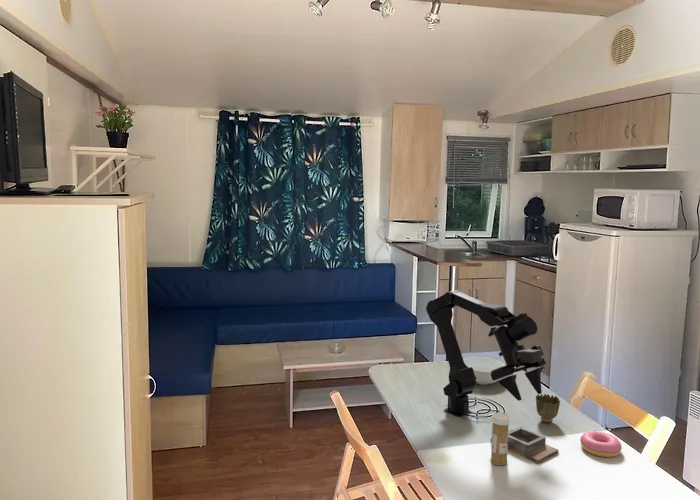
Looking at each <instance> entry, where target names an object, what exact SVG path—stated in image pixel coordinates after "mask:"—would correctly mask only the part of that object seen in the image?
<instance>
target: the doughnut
mask: <svg viewBox="0 0 700 500" xmlns="http://www.w3.org/2000/svg"><path fill="white" fill-rule="evenodd" d="M579 441H580V445H581V447H582V449H584V450H585V451H586V452H588V453H589V454H592V455H594V456H598V457H601V458H613V457H617V456H618V455H619V454H620V453H621V451H622V449H623V447H622V443H621V441H620V440H619V438H617V437H616V436H614V435H612V434H611V433H606V432H605V431H599V430H598V431H596V430H593V431H592V430H591V431H590V430H589V431H587V432H584V433H583V434H582V435H581V436H580V439H579Z"/></svg>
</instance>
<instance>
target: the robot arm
mask: <svg viewBox="0 0 700 500" xmlns="http://www.w3.org/2000/svg"><path fill="white" fill-rule="evenodd" d="M455 307H458V308H461V309H464V310H465V311H467V312H470V313H472V314H474V315H476V316H477V317H478V318H479V319H480V321H481V322H483V323H484V324H485V325H487V326H488V327H491V328H490V330H489V333H488V335H487V336H488V337H489V338H490V337H494V338H495V341H496V342H497V346H498V347H499V350H500V352H498V356H499V357H503V360H504V362H505V366H503V367H500V368H497V369H495V370H492V371H491V378H492V380H493V381H494V380H498V379H499V380H498V381H496V382H495V383H496V384H499V385H501V386H502V387H503V388H504V389H505V390H506V391H508V392H509V394H511V395H512V396H513V398H514V399H515V400H517V402H518V401H519V402H520V401H522V396H521V393H520V390H519V387H518V385H517V382H516V381H517V374H515V373H517V372H521V371H524V375H525V376H526V378H527V380H528V382H529V383H530V384H531V385H532V387H533V389H534V390H535V392H536V393H537V395H541V394H542V391H543V390H542V382H541V377H542V376H541V375H542V372H543V369H545V366H546V365H547V362H546V360H545V358H544V357H543V356H544V354H545V353H544V351H543V348H542V347H541V345H540V344H539V345H532V346H531V348H529V349H527V348H525V346H524V345H523V344H521V345H520V344H519V342H520V341H523V340H525V339H528V338H531V337H532V336H534V335H536V334H537V333H538V325H537V322H536V321H535V320H533V318H532V317H530V316H528V314H527V312H523V313H522V312H521V313H519V314H518V315H517V316H516V315H515V314H514V313H513V312H511V311H509V309H508V307H507V306H505V305H501V304H497V303H490V302H489V303H488V302H484V301H482V300H479V299H477V298H475V297H472V296H471V295H467V294H465V293H464V292H462V291H460V290H459V289H458V290H449V291H447V292H445V293H444V294H442V295H440V296H438V297H436V298H434V299H432V300H429V301H428V302H427V305H426V307H425V310H426V313H427V316H428V317H429V319H430V321H431V323H433V324H434V325H435V326H436V327H437V330H438V333H439V337H440V340H441V343H442V346H443V347H442V348H443V349H444V353H445V355H446V359H447V363H448V364H449V365H448V366H449V371H448V382H449V383H448V384H447V385H445V386H444V387H443V389H442V390H443V394H444V396H446V397H447V407H446V408H444V412H446V413H449V414H451V415H452V416H455V417H458V418H460V417H463V416H465V415H467V414H470V413H472V412H471V410H470V408H469V407H470V401H469V395H472V394H473V392H474V389H476V386H477V383H476V379H477V378H476V377H475V374H474V370H473V368H472V367H470V368H468V367H467V366H466V365H465V363H464V361H463V359H464V358H463V357H464V356H463V354H462V352H461V349H460V346H459V342H458V340H457V336H456V332H455V330H454V327H453V324H452V321H453V316H454V313H453V309H454V308H455Z"/></svg>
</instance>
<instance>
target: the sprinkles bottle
mask: <svg viewBox="0 0 700 500" xmlns="http://www.w3.org/2000/svg"><path fill="white" fill-rule="evenodd" d="M491 422H492V425H491V426H492V428H491V430H492V431H491V438H492V442H491V441H490V442H491V445H490V446H491V447H490V450H491V451H490V452H491V454H490V455H491V456H490V462H491V463H492V464H494V465H495V466H505V465H507V464H508V451H509V450H508V431H509V425H510V415H508V414H507V413H504V412H495V413H493V414H492V415H491Z"/></svg>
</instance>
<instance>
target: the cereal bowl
mask: <svg viewBox="0 0 700 500" xmlns="http://www.w3.org/2000/svg"><path fill="white" fill-rule="evenodd" d="M463 361H464V363H465V365H466V366H467V367H468V368H470V367H472V368H473V370H474V374H475V377H476V378H477V379H476V385H482V386H485V385H486V386H487V385H491V384H494V383H497V382H496V381H498V380H499V379H498V380H494V381H493V380H492V378H491V371H492V370H495V369H497V368H500V367H503V366H506V364H504V363H503V362H502V361H499V360H497V359H494V358H489V357H484V356H483V357H482V356H481V357H480V356H473V357H472V356H471V357H466V358H463Z"/></svg>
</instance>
